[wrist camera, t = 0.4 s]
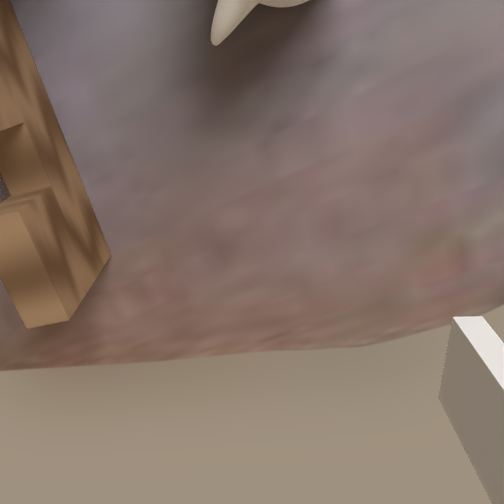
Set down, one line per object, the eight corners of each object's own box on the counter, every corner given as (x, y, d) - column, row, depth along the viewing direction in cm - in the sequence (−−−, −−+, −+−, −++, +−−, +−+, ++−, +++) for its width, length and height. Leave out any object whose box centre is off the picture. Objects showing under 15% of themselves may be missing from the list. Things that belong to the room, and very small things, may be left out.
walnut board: (-33, 6, 32) (-147, -6, 23) (7, -6, 32) (-92, -22, 23) (78, 262, 40) (27, 328, 31) (111, 255, 40) (69, 320, 31)
